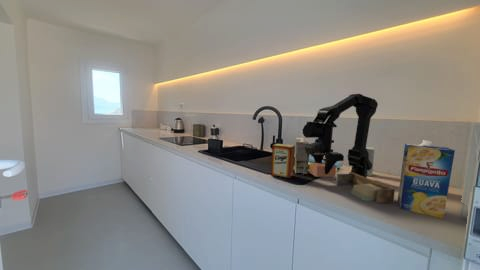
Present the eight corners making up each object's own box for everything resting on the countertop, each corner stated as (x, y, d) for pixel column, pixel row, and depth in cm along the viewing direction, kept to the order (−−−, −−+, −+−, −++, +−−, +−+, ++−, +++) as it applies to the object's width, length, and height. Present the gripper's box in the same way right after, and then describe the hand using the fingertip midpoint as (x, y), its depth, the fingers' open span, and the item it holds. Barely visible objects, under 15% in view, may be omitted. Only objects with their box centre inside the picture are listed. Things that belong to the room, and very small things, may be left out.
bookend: (345, 181, 94) (346, 171, 93) (352, 184, 89) (354, 174, 89) (330, 181, 92) (331, 171, 92) (337, 185, 88) (338, 174, 87)
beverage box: (397, 201, 73) (404, 143, 71) (437, 210, 67) (447, 147, 65) (399, 208, 67) (408, 146, 65) (444, 218, 61) (455, 150, 59)
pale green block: (369, 192, 80) (370, 183, 80) (384, 200, 74) (385, 190, 73) (351, 193, 78) (352, 184, 78) (364, 201, 72) (365, 191, 71)
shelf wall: (351, 182, 92) (352, 172, 92) (393, 202, 72) (394, 189, 71) (339, 182, 91) (339, 172, 90) (378, 203, 71) (379, 190, 70)
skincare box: (371, 174, 107) (375, 147, 105) (372, 176, 102) (375, 149, 100) (354, 171, 112) (357, 145, 110) (353, 173, 106) (356, 147, 105)
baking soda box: (270, 175, 99) (272, 144, 97) (275, 172, 104) (277, 142, 102) (289, 179, 94) (291, 146, 92) (293, 175, 99) (295, 144, 97)
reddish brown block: (326, 172, 91) (327, 162, 90) (335, 176, 85) (336, 166, 84) (309, 172, 89) (309, 162, 89) (316, 176, 83) (317, 166, 83)
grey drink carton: (307, 175, 101) (310, 144, 99) (295, 173, 102) (297, 143, 101) (305, 170, 110) (307, 142, 108) (294, 169, 111) (295, 141, 109)
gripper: (297, 134, 93) (295, 166, 95) (320, 140, 75) (317, 179, 76) (318, 134, 95) (316, 165, 97) (346, 140, 77) (342, 178, 78)
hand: (322, 171), depth 87 cm, fingers closed on reddish brown block, 6 cm apart
